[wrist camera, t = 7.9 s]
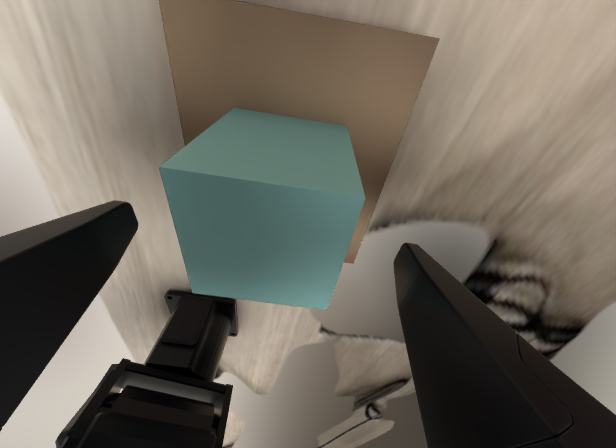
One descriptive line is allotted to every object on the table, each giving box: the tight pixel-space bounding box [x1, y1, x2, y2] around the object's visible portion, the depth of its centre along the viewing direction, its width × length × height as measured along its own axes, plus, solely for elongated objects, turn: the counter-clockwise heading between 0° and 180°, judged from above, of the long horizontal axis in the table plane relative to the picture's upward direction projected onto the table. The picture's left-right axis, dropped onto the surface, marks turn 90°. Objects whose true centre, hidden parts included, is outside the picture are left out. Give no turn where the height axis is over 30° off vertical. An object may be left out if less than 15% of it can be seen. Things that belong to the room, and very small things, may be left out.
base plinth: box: [159, 0, 439, 263], centre depth 13 cm, size 12×10×2 cm
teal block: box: [159, 108, 365, 310], centre depth 10 cm, size 5×5×6 cm
